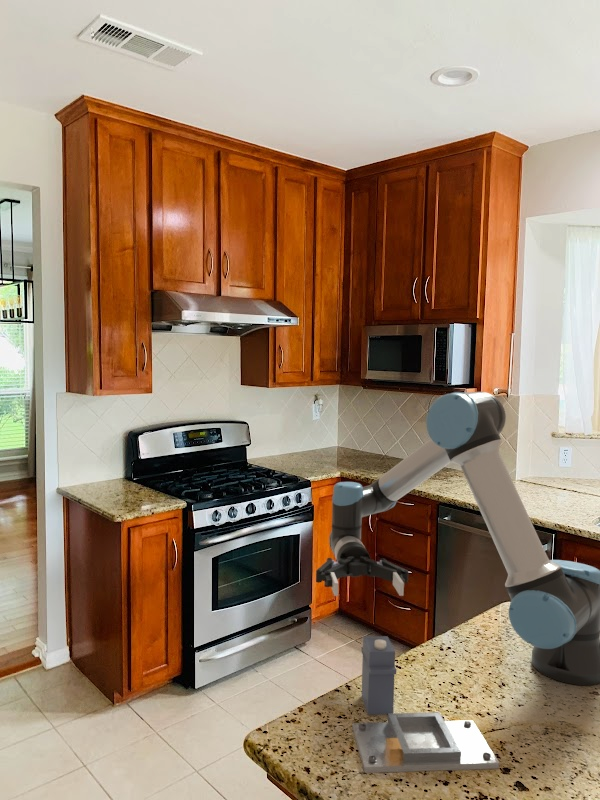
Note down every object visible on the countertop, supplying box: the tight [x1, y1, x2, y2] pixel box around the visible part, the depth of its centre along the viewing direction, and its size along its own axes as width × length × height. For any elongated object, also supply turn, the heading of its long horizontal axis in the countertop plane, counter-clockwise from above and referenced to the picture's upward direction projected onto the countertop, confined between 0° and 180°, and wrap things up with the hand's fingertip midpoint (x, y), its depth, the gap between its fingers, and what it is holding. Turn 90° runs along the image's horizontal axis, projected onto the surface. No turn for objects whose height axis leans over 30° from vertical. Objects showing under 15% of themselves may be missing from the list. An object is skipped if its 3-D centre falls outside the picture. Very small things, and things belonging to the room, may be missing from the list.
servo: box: [360, 635, 397, 716], centre depth 118 cm, size 5×9×13 cm, turn 5°
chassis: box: [351, 711, 500, 774], centre depth 106 cm, size 22×12×3 cm, turn 95°
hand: (369, 589), depth 127 cm, fingers open, 13 cm apart
